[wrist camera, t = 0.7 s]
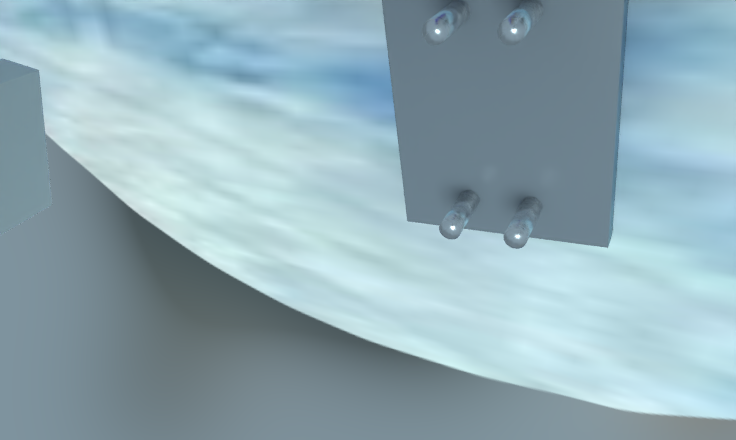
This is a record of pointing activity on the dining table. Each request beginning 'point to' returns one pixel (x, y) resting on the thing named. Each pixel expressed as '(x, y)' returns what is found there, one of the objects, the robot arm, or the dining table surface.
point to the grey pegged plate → (511, 114)
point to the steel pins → (509, 34)
